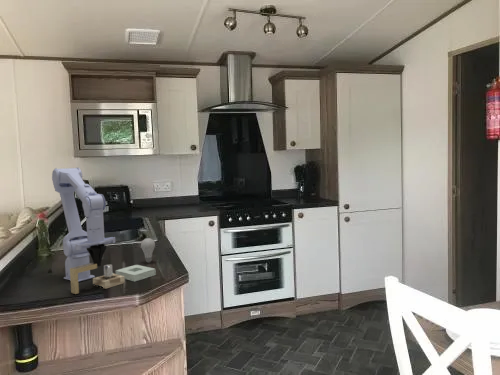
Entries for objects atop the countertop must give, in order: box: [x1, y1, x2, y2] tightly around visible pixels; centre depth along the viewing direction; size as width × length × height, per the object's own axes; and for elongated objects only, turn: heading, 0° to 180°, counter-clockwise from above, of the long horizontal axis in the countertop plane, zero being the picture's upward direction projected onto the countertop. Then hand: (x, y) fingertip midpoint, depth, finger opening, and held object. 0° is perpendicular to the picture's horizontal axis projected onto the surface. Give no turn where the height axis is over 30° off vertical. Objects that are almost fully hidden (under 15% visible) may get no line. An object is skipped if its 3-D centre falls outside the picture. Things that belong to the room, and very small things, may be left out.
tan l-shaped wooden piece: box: [70, 262, 98, 295], centre depth 138 cm, size 3×8×9 cm, turn 143°
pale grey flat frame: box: [114, 264, 157, 282], centre depth 156 cm, size 12×10×2 cm
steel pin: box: [103, 264, 114, 280], centre depth 146 cm, size 3×3×7 cm
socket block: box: [92, 273, 126, 289], centre depth 146 cm, size 8×8×2 cm
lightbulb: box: [140, 237, 156, 264], centre depth 175 cm, size 6×6×11 cm
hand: (97, 265), depth 142 cm, fingers closed
